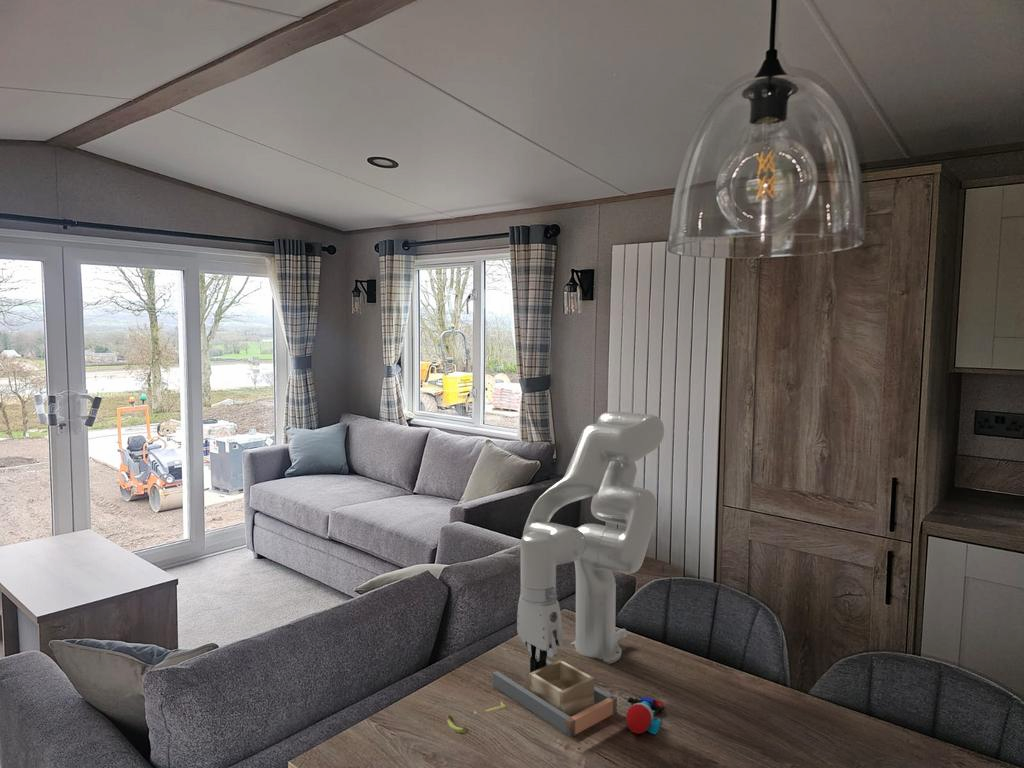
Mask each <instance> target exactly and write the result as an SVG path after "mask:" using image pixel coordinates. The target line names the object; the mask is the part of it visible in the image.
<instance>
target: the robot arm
mask: <svg viewBox="0 0 1024 768" xmlns="http://www.w3.org/2000/svg"><path fill="white" fill-rule="evenodd" d="M664 436H665V426H664V423H663V421H662V420H661V418H660V417H659V416H657V415H654V414H648V413H637V412H630V411H629V412H628V411H627V412H626V411H607V412H604V413H601V414H600V415H599V417H598V419H597V422H596V423H591V424H588V425H587V426H585V427H584V429H583V430H582V432H581V434H580V436H579V439H578V442H577V444H576V446H575V449H574V452H573V455H572V456H571V458H570V461H569V464H568V466H567V468H566V472H565V474H564V476H563V477H562V478H561V479H560V480H559V481H557V482H555V483H554V484H553V485H552V486H550V487H549V488H548V489H547V490H545V492H544V493H542V494H541V495H540V496H539V497H538V498H537V500H535V502H534V503H533V505H532V508H531V509H530V513H529V514H528V517H527V519H526V522H525V524H524V528H523V531H522V537H521V539H520V594H519V598H518V603H517V604H518V605H517V616H516V619H517V620H516V630H517V635H518V637H519V638H520V640H521V641H522V643H524V644H525V646H526V648H527V654H528V657H529V666H530V667H529V673H531V672H533V671H536V670H538V669H540V668H543V667H545V666H546V659H547V658H554V657H556V656H558V649H557V646H558V647H561V646H562V644H563V623H562V622H563V621H562V614H561V608H560V603H559V600H557V598H558V594H557V566H559V565H563V564H569V563H573V562H574V567H575V568H574V569H575V639H574V640H573V641H572V642H571V643H570V645H572V646H574V647H575V650H576V652H577V653H578V654H580V655H582V656H584V657H587V658H592V659H599V660H601V661H603V662H605V663H607V664H609V665H611V664H614V663H616V662H617V661H619V659H621V657H622V648H621V646H620V645H619V644H618V642H619V641H620V639H623V638H625V637H627V636H628V631H627V629H626V628H621V629H619V630H617V631H616V602H617V601H616V598H617V597H616V593H617V591H616V590H617V589H616V588H617V584H616V579H615V576H614V573H613V571H615V572H620V573H623V574H635V573H636V572H638V571H639V570H640V569H641V566H642V565H643V563H644V560H645V557H646V553H647V549H648V547H649V544H650V540H651V537H652V533H653V529H654V525H655V522H656V517H657V511H658V506H657V505H658V504H657V499H656V497H655V495H654V493H653V492H652V491H651V490H649V489H646V488H644V487H637V486H634V484H635V480H636V476H637V471H638V469H637V464H636V462H637V461H639V460H641V459H643V458H644V457H645V456H647V455H649V454H650V453H652V452H653V451H655V450H656V449H657V448H658V447H659V446H660V445H661V443H662V441H663V440H664ZM590 497H592V500H591V502H590V503H591V504H590V511H591V514H592V516H593V517H594V518H595V519H598V520H599V521H602V522H607V523H610V524H613V525H618V526H624V527H626V528H625V529H621V528H616V527H612V526H608V525H603V524H597V523H584V524H582V525H580V526H578V527H577V528H576V527H573V526H569V525H564V524H559V523H555V522H552V521H551V519H552V518H553V516H554V514H555V513H556V512H558V511H559V510H560V509H561V508H562V507H565V506H567V505H568V504H571V503H575V502H577V501H580V500H583V499H587V498H590Z"/></svg>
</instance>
